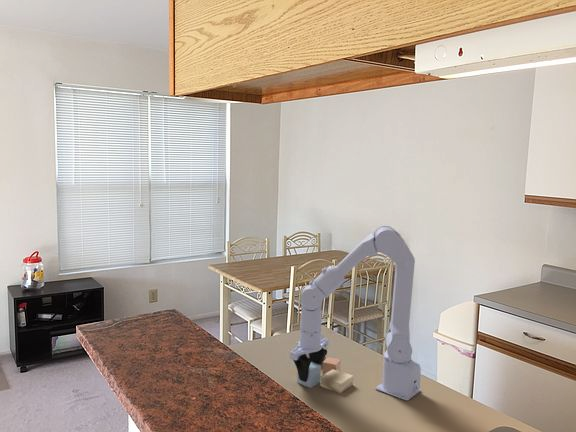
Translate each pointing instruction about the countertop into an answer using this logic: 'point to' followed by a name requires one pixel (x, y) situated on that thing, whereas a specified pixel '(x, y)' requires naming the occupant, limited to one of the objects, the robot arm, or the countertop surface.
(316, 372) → the blue block
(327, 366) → the terracotta block
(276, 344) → the countertop surface
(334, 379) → the beech base
